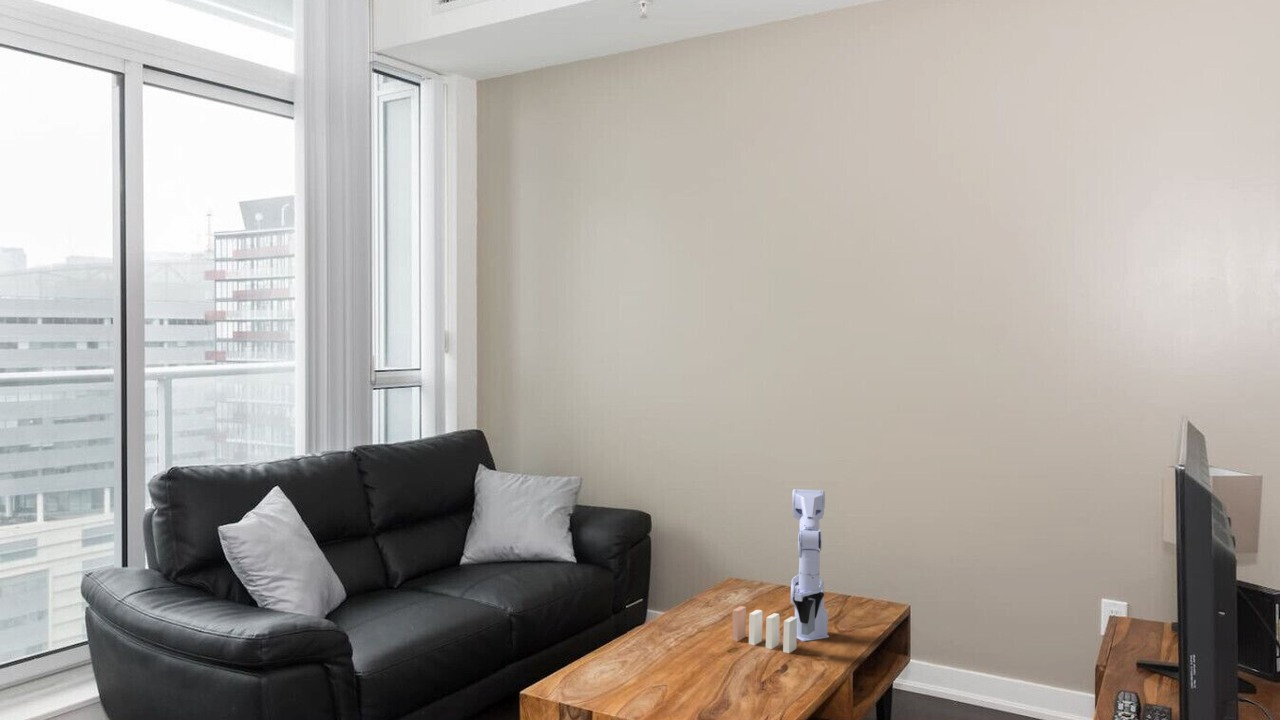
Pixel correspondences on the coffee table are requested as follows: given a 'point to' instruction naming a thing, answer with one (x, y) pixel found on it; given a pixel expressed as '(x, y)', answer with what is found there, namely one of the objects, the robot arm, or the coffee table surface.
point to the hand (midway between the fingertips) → (808, 620)
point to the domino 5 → (810, 621)
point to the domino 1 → (739, 623)
